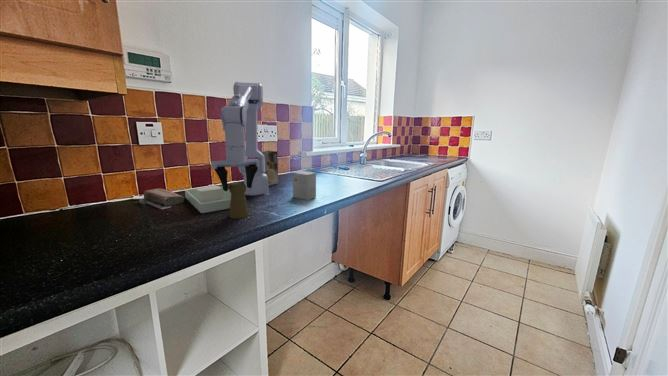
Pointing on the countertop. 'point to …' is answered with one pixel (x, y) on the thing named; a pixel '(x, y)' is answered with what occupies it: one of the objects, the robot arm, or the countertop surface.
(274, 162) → the coffee box
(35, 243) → the countertop surface
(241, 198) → the brown rounded lobed piece
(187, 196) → the box
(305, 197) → the small box
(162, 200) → the packaged product
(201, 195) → the white box
